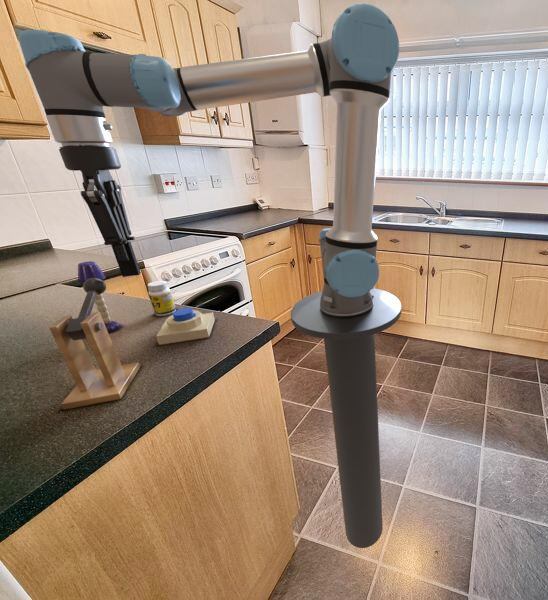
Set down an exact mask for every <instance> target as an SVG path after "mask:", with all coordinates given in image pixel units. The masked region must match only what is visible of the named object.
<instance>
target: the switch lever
mask: <svg viewBox="0 0 548 600" xmlns="http://www.w3.org/2000/svg"><path fill="white" fill-rule="evenodd" d="M82 288H83V291H84V292H85V293H86V295H85V298H84V300H83V303H82V305H81V308H80V311H79V313H78V316H77V317H76V318H75V317H74V318H72V319H70V321H69V323H68V326H67V328H66V331H65V333H66V334H67V335H68V336H69V337H70V338H71V339H72V340H81V339H82V340H87V338H86V336H85V333H84V331H83V329H82V327H81V324H80V323H82V322H83V321H84V320H85V319H86V318H87V317H88V316H89V315H90V314H92V311H93V309H94V306H95V300H96V297H97V295H100V294H104V293H105V292H106V290H107V283H106V282H105V281H104V279H103V280H101V279H98V278H91V279H88V280H86V281H85V282H84V283H82Z"/></svg>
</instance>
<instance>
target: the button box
mask: <svg viewBox="0 0 548 600" xmlns="http://www.w3.org/2000/svg"><path fill="white" fill-rule="evenodd" d="M193 313H194V316H195V317H193V318H192V319H189V320H186V321H179V322H178V321H175V320H174V317H173V314H171V315H169V316H168V317H167V318H166V320H165V322H164V323H163V325H162V326H161V328H160V329H159V331H158V332H157V334H156V335H155V337H156V340H157V344H158V345H159V346H161V345H168V344H174V343H180V342H181V343H182V342H188V341H193V340H199V339H205V338H206V339H207V338H210V335H211V333H212V330H213V327H214V325H215V320H216V319H215V316H214V315H215V314H214V312H207V313H202V312H201V311H200V310H194V309H193Z"/></svg>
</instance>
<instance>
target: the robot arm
mask: <svg viewBox="0 0 548 600" xmlns="http://www.w3.org/2000/svg"><path fill="white" fill-rule="evenodd" d="M18 42H19V45H20V49H21V52H22V55H23V59H24V61H25V63H24V64H25V65H24V66H25V67H26V69H27V71H28V72H29V74H30V78H31V79H32V83H33V85H34V87H35V89H36V92H37V94H38V98H39V99H40V102H41V105H42V107H43V110H44V113H45V117H46V120H47V123H48V125H49V128H50V132H51V133H52V136H53V139H54V141H55V142H56V143H57V144H60V145H61V146H59V149H58V151H59V153H60V157H61V159H62V161H63V165H64V167H65V169H66V170H68V171H72V172H73V171H80V172H81V176H82V181H83V182H82V187H83V190H80V195H81V198H82V199H83V201H85V203H86V205H87V207H88V209H89V211H90V213H91V215H92V218H93V219H94V222H95V224H96V226H97V228H98V230H99V232H100V234H101V237H102V239H103V241H104V242H103V245H105V246H111V249H112V251H113V254H114V256H115V260H116V262H117V266H118V268H119V271H120V273H121V276H122V277H123V278H124V277H134V276H135V277H136V276H140V275H141V273H142V272H141V268H140V265H139V263H138V261H137V257H136V254H135V251H134V249H133V248H134V247H133V245H132V242H131V241H135V240H136V239H135V238H136V237H135V236H132V230H131V226H130V223H129V219H128V215H127V212H126V208H125V203H124V200H123V194H122V187H121V186H120V184H118V182H117V181H116V180H115V179H114V178H113V176H112V174H111V172H110V171H112V170H113V171H114V170H120V169H121V168H122V165H121V161H120V158H119V156H118V155H119V154H118V152H117V149H116V148H115V147H114V146H111V145H110V144H112V143H113V142H114V141H113V137H112V134H111V132H110V131H113V130H114V129H113V128H114V127H113V125H112V124H111V123H107V122H108V121H107V119H106V114H105V112H104V111H105V110H104V107H107V108H113V107H114V108H117V107H119V108H137V109H138V108H139V109H144V110H148V111H150V112H154V113H158V114H161V115H162V116H165V117H171V118H172V117H180V116H183V115H184V114H186V113H191V112H195V111H201V110H207V109H215V108H222V107H228V106H235V105H241V104H248V103H254V102H261V101H267V100H273V99H274V100H275V99H281V98H289V97H293V96H294V97H296V96H300V95H308V94H315V93H316V94H318V95H319V96H320V97H321V98H323V97H330V96H331V97H332V99H333V100H334V102H335V103H336V124H335V125H336V126H335V127H336V129H335V157H334V184H333V185H334V187H333V189H334V190H333V217H332V218H333V219H332V227H327V228H323V229H321V230H320V231H319V236H318V237H319V238H318V242H319V246H320V257H321V266H322V275H323V276H322V277H323V287H322V290H321V291H322V295H321V300H320V310H321V312H322V313H323V314H324V315H326V316H329V317H333V318H353V317H358V316H361V315H364V314H366V313H368V312H369V311H371V310H372V308H373V298H374V296H373V295H371V292H370V290H371V289H373V288H374V287H376V285H377V283H378V281H379V278H380V265H379V263H378V260H377V250H378V236H377V235H376V234H375V232H374V231H373V229H372V227H373V215H374V202H375V187H376V176H377V161H378V150H379V138H380V124H381V111H382V110H383V108H384V107H385V106H387V104H388V103H390V94H391V84H392V74H393V72H394V70H395V69H396V67H397V64H398V60H399V55H400V39H399V35H398V32H397V29H396V27H395V24H394V23H393V22H392V20H391V19H390V17H389V16H388V15H387V14H386V12H384V10H382V9H380V8H379V7H377V6H376V5H373V4H370V3H366V2H365V3H364V2H362V3H354V4H352V5H350V6H348V7H346V8H345V9H344V10H343V11H342V12H341V14H339V15H338V17H337V18H336V20H335V22H334V24H333V27H332V31H331V36H330V38H329V39H327V40H325V41H322V42H315V43H310V44H309V46H308V48H307V49H306V50H301V51H294V52H287V53H277V54H271V55H270V54H269V55H263V56H256V57H255V56H254V57H248V58H241V59H232V60H225V61H218V62H210V63H202V64H195V65H188V66H181V67H172V65H171V63H170V62H169V61H168V60H167V59H165V58H163V57H161V56H156V55H155V56H154V55H147V54H146V53H138V54H127V53H110V52H109V53H106V52H92V51H91V52H90V51H87V50H86V49H85V48H84V45H83V43H82V42H81V41H80V40H79V39H78V38H76V37H74V36H71V35H69V34H66V33H61V32H59V31H58V32H57V31H48V30H45V29H26V30H22V31H21V32H20V33H19V34H18Z"/></svg>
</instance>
